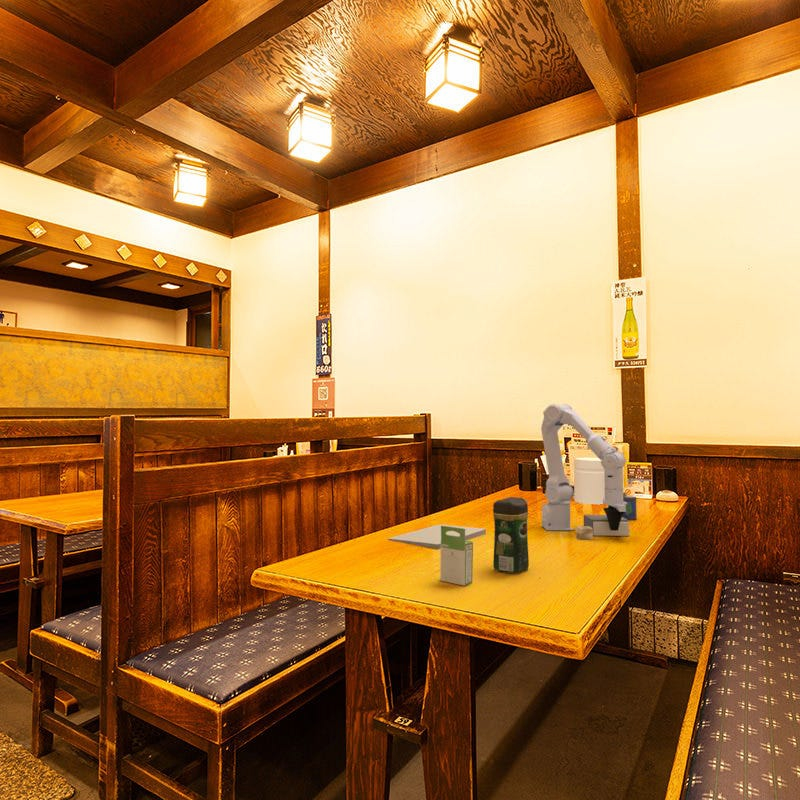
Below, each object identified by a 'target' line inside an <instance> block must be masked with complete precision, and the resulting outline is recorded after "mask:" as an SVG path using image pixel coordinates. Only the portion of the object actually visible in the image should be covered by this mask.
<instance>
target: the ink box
mask: <svg viewBox="0 0 800 800" xmlns="http://www.w3.org/2000/svg"><path fill="white" fill-rule="evenodd" d="M448 531H455V532H457V533H459V534H460V536H452V535H447V534H446V532H448ZM473 554H474V542H473V541H470V540H466V541H465V529H462V528H455V527H448V526H441V549H440V569H439V570H440V575H439V576H440V579H439V580H440V581H442V582H446V583H451V584H455V585H459V586H464V587H465V586H468V585H471V584H472V583H473V577H474V576H473V574H474V573H473V571H474V570H473V569H474V567H473V565H474V564H473V562H474V558H473V557H474V555H473Z"/></svg>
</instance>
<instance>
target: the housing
mask: <svg viewBox="0 0 800 800" xmlns="http://www.w3.org/2000/svg"><path fill="white" fill-rule="evenodd" d="M593 522H608V518H607V515H606V514H583V526H589V527H591V528H592V529H593ZM620 522H629V520H627V519H625V518H623V517H622V518H621V521H620Z"/></svg>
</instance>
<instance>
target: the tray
mask: <svg viewBox="0 0 800 800" xmlns="http://www.w3.org/2000/svg"><path fill="white" fill-rule="evenodd" d="M593 536H595V537H596V536H598V537H599V536H604V537H605V536H609V537H610V536H612V537H613V536H618V537H621V536H622V537H630V522H629V521H628V522H620V525H619V529H618V531H612V530H610V526H609V522H593Z"/></svg>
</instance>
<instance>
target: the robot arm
mask: <svg viewBox="0 0 800 800" xmlns="http://www.w3.org/2000/svg"><path fill="white" fill-rule="evenodd" d="M564 425H568V426H571V428H573V429H574V430H575V431H576V432H577V433H578V434H579V435H580V436H581V437H583V438H584V439H585V440H586V444H587V445H586V446H587V448H589V449H590V451H591V452H592V453H593V454H594V455H595V456H596V458H599V459H600V460H602V461H601V464H602V466H603V468H604V472H605V474H604V478H605V499H603V504H604V506H607V507H603V512H604V513H605V515H607V518H608V522H609V526H610V530H612V531H618V529H619V525H620V521H621V518H622V516H623V514H624V513H625V512H626V506H625V505H627V502H623V492H624V467H625V465H626V462H627V461H626V459H627V458H626V457H625V455H624V453H623V452H622V451H621V452H620V451H617V449H616V447H613V446H612V445H611V444H610V443H609V442H608V441H607V438H606V436H603V435H601V434H595V433H594V432H593V430H592V429H591V428H590V427H589V426H588V425H587V423H586V422H585V421H584V420H583V419H582V418H581V417H580V416H579V413H578V412H577V411H576V410H575V409H573V407H572V406H571V405H569V404H556V403H552V404H549V405H548V406H547V407H546V408H545V409H544V411H543V419H542V424H541V429H540V431H541V436H542V440H543V441H542V442H543V447H544V454H545V461H546V465H547V472H548V478H547V480H546V482H545V484H546V485H545V487H546V488H545V490H544V491H545V498H546V500H547V501H548V503H546V502H545V503H543V504H542V507H541V527H543V528H544V530H546V531H575V528H573V527H572V526H571V500H572V499H573V498H574V488H573V487H572V485H571V484H570V479H569V478H568V477H567V476H566V475H565V470H564V469H565V467H564V462H563V457H562V451H561V446H560V441H559V439H560V438H559V434H558V432H559V430H561V428H562V427H563V426H564Z"/></svg>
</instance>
